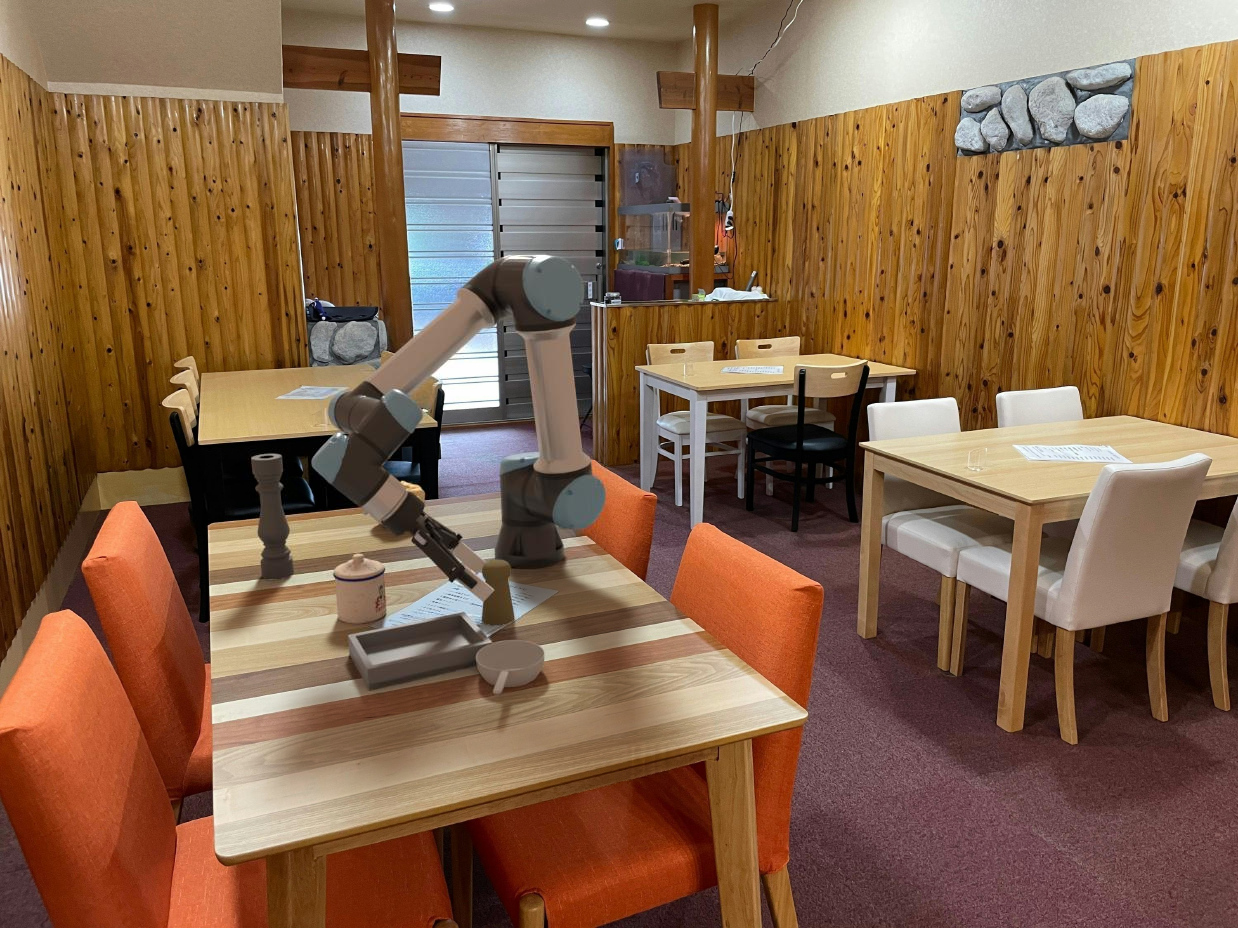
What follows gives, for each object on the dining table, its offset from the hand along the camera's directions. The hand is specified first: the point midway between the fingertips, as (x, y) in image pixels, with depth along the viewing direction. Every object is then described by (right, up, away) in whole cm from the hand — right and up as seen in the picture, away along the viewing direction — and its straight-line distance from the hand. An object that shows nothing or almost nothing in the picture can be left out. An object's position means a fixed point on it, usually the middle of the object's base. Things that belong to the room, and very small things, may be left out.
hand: (485, 581), depth 158 cm
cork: (+2, -7, +3) cm, 8 cm away
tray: (-9, -11, -13) cm, 19 cm away
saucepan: (+7, -13, -22) cm, 26 cm away
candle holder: (-47, -2, +25) cm, 53 cm away
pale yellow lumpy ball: (-30, +6, +58) cm, 65 cm away
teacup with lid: (-24, -7, +6) cm, 25 cm away
